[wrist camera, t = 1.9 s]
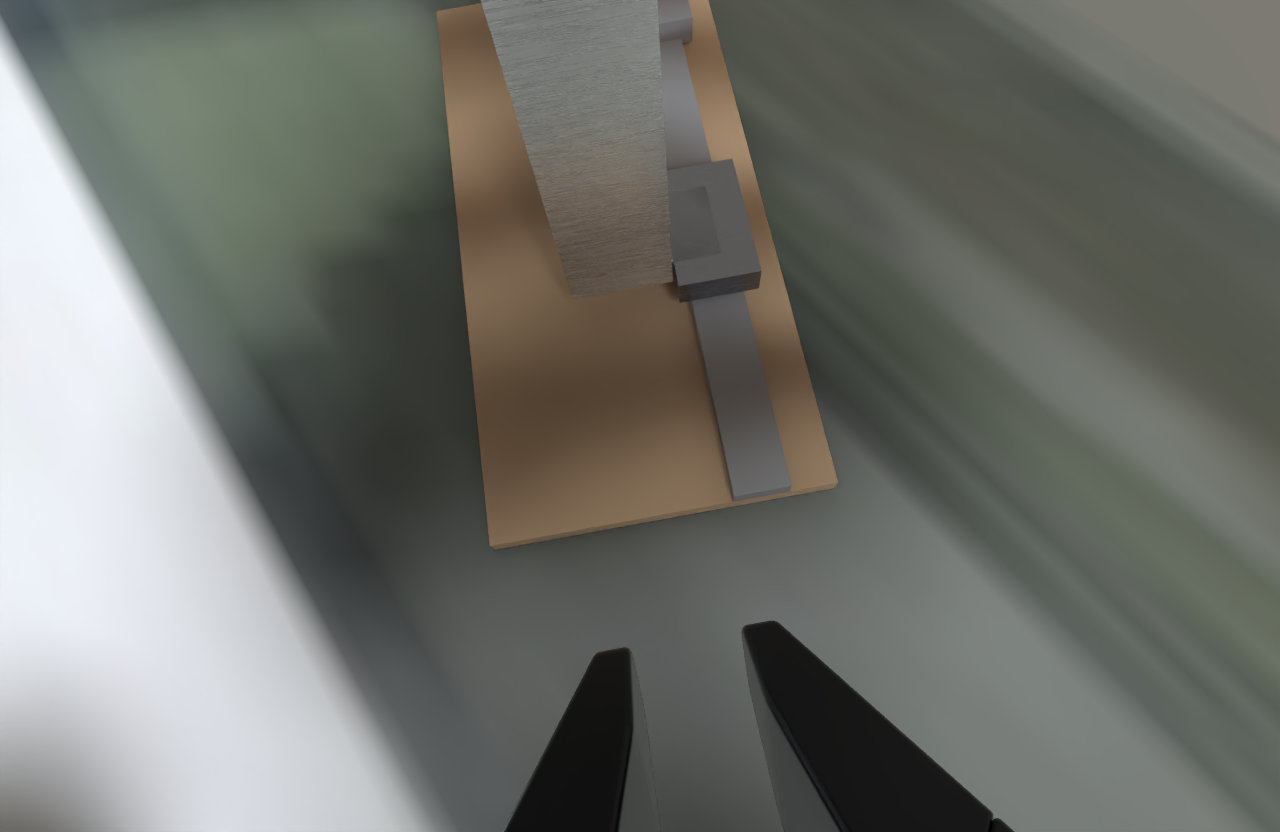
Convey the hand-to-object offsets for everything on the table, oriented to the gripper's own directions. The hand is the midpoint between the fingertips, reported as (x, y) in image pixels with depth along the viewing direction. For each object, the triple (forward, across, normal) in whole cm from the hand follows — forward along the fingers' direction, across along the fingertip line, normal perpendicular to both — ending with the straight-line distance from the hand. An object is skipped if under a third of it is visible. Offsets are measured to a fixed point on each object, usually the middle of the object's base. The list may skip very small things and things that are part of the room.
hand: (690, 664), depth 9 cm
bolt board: (+19, 0, -2) cm, 19 cm away
